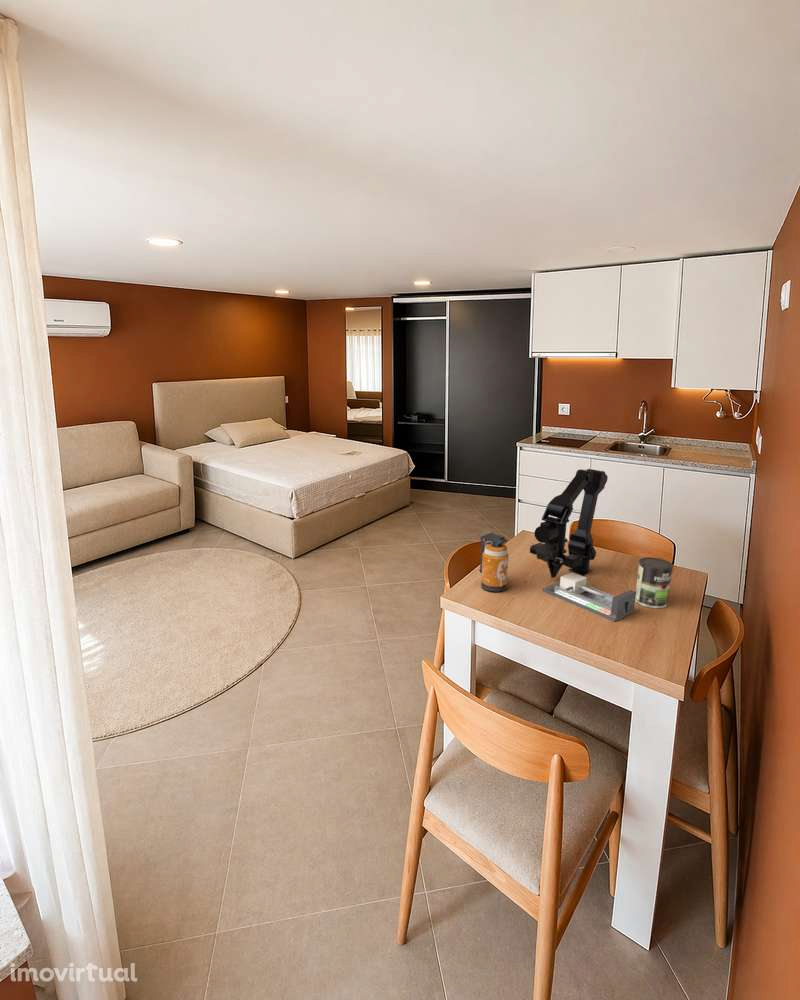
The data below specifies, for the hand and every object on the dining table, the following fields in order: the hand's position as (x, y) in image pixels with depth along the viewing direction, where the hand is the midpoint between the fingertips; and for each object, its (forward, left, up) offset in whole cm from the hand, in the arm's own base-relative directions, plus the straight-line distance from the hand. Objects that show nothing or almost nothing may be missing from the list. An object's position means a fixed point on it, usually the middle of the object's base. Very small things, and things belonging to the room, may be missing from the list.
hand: (553, 577), depth 195 cm
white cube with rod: (+2, +13, -2) cm, 13 cm away
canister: (+18, -13, -4) cm, 22 cm away
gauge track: (0, +14, -4) cm, 15 cm away
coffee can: (-17, +27, -4) cm, 32 cm away
